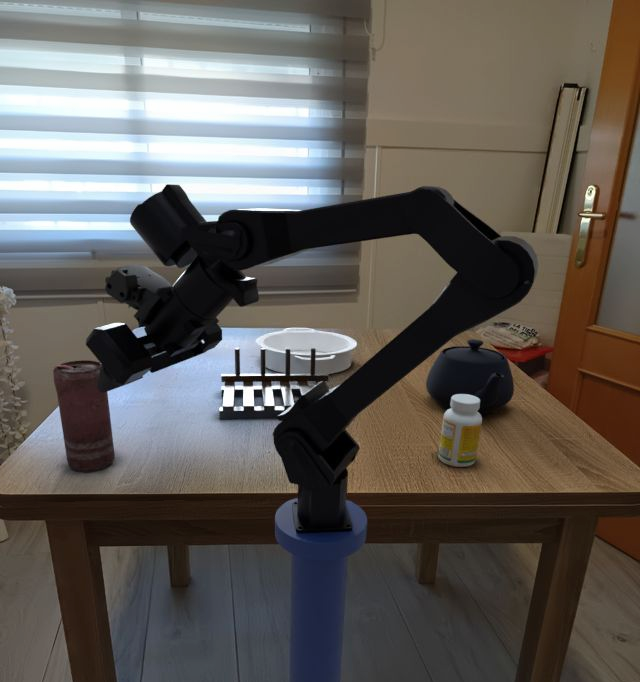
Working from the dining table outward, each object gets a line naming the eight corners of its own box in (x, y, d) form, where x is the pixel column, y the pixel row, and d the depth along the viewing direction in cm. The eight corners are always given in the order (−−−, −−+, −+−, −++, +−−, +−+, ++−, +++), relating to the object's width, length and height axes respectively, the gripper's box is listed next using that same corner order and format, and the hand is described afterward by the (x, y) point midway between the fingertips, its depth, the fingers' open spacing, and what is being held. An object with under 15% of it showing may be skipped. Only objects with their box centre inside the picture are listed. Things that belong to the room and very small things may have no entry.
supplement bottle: (434, 463, 83) (442, 400, 79) (442, 449, 87) (450, 389, 84) (472, 471, 81) (481, 407, 77) (478, 456, 85) (487, 395, 82)
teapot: (410, 385, 116) (416, 325, 112) (484, 385, 118) (493, 326, 113) (447, 433, 93) (456, 360, 89) (538, 432, 95) (552, 361, 90)
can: (67, 455, 81) (53, 360, 76) (115, 451, 83) (104, 357, 78) (64, 475, 76) (48, 373, 70) (114, 469, 78) (103, 370, 72)
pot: (370, 381, 118) (372, 358, 116) (262, 384, 114) (262, 360, 112) (341, 345, 144) (342, 326, 142) (251, 347, 140) (251, 327, 138)
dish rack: (338, 418, 98) (340, 369, 94) (219, 420, 95) (217, 370, 92) (327, 391, 111) (328, 347, 107) (222, 392, 108) (220, 347, 105)
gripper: (198, 237, 71) (134, 315, 79) (88, 248, 55) (22, 345, 63) (254, 307, 72) (185, 378, 80) (161, 338, 56) (86, 423, 64)
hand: (126, 379), depth 72 cm, fingers open, 9 cm apart
